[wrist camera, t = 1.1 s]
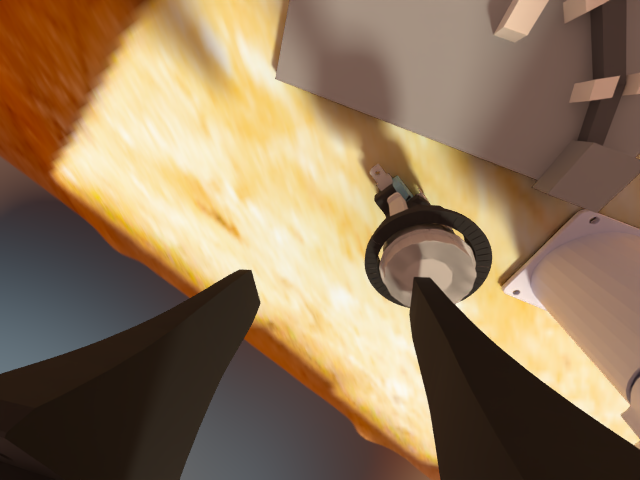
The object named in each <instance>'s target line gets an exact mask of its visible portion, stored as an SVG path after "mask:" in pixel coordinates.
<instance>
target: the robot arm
mask: <svg viewBox="0 0 640 480" xmlns="http://www.w3.org/2000/svg"><path fill="white" fill-rule="evenodd" d="M593 217H595V219H594V220H593V221H591V222H589V221H590V219H592V218H593ZM502 290H503V292H504V293H505V294H507V295H510V296H512V297H515V298H517V299H519V300H522V301H524V302H527V303H529V304H532V305H534V306H536V307H539V308H541V309H544V310H546V311H548V312H549V313H550V314H551V315H552V316H553V318H554V319H555V320H556V321H557V322H558V323H559V324H560V326H561V327H562V328H563V329H564V330H565V331H566V332H567V334H568V335H569V336H570V337H571V338H572V339H573V340H574V342H575V343H576V344H577V345H578V346H579V347H580V348H581V349H582V351H583V352H584V353H585V354H586V355H587V356H588V357H589V359H590V360H591V361H592V362H593V363H594V364H595V365H596V367H597V368H598V369H599V370H600V371H601V372H602V373H603V374H604V376H605V377H606V378H607V379H608V380H609V381H610V382H611V384H612V385H613V386H614V387H615V388H616V389H617V390H618V392H619V393H620V394H621V395H622V396H623V397H624V398H625V400H626V401H627V402H628V403H629V404H630V407H629V408H628V409H627V410H626V411H625V412H623V413H622V414H621V417H622V418H623V419H624V420H625V422H626V423H627V424H628V425H629V426H630V428H631V429H632V430H633V431H634V433H635V434H636V435H637V436H638V437H639V439H640V229H639V228H636V227H634V226H631V225H628V224H626V223H623V222H621V221H618V220H615V219H613V218H610V217H608V216H605V215H603V214H600V213H595V212H592V211H589V210H587V209H583V210H580V211H578V212H577V213H576V214H575V215H574V216H573V217H572V218H571V219H570V220H569V221H568V222H567V223H566V224H565V225H564V226H563V227H562V228H561V229H560V230H559V231H558V232H557V233H555V234H554V235H553V236H552V237H551V238H550V239H549V240H548V241H547V242H546V243H545V244H544V245H543V246H542V247H541V248H540V249H539V250H538V251H537V252H536V253H535V254H534V255H533V256H532V257H531V258H530V259H529V260H528V261H527V262H526V263H525V264H524V265H523V266H522V267H521V268H520V269H519V270H518V271H517V272H516V273H515V274H514V275H513V276H512V277H511V278H510V279H509V280H508V281H507V282H506V283H505V284H504V285H503V286H502ZM515 290H517V291H516V292H513V291H515ZM259 306H260V300H259V296H258V292H257V289H256V285H255V282H254V278H253V274H252V271H251V270H238V271H236V272H234V273H232V274H230V275H228V276H227V277H225V278H223V279H222V280H220V281H218V282H217V283H215V284H213V285H212V286H210V287H208V288H207V289H205V290H203V291H202V292H200V293H198V294H197V295H195V296H193V297H191V298H189V299H188V300H186V301H184V302H183V303H181V304H179V305H177V306H176V307H174V308H172V309H170V310H168V311H166V312H164V313H162V314H160V315H158V316H156V317H154V318H152V319H150V320H148V321H146V322H143V323H141V324H139V325H137V326H135V327H132V328H130V329H128V330H125V331H123V332H120V333H118V334H116V335H113V336H111V337H108V338H106V339H104V340H101V341H98V342H96V343H93V344H90V345H88V346H85V347H82V348H80V349H77V350H74V351H71V352H68V353H65V354H63V355H59V356H57V357H54V358H50V359H47V360H44V361H41V362H38V363H34V364H31V365H28V366H25V367H21V368H18V369H15V370H12V371H9V372H5V373H2V374H0V480H180V477H181V474H182V471H183V469H184V466H185V463H186V460H187V458H188V455H189V453H190V450H191V448H192V445H193V443H194V440H195V437H196V435H197V432H198V430H199V427H200V425H201V423H202V420H203V418H204V416H205V413H206V411H207V409H208V406H209V404H210V402H211V400H212V397H213V395H214V393H215V391H216V389H217V386H218V384H219V382H220V380H221V378H222V376H223V374H224V372H225V370H226V368H227V367H228V365H229V363H230V361H231V360H232V358H233V356H234V355H235V353H236V351H237V349H238V347H239V346H240V344H241V342H242V341H243V339H244V337H245V335H246V334H247V332H248V330H249V328H250V327H251V325H252V323H253V321H254V318H255V316H256V314H257V311H258V308H259ZM409 315H410V323H411V331H412V338H413V343H414V347H415V351H416V355H417V359H418V363H419V367H420V371H421V375H422V379H423V383H424V387H425V391H426V395H427V399H428V404H429V409H430V414H431V420H432V427H433V433H434V439H435V446H436V452H437V459H438V466H439V473H440V480H640V441H639V442H637V443H636V444H635V445H633V444H631V443H629V442H628V441H626V440H625V439H623V438H622V437H620V436H619V435H617V434H616V433H614V432H613V431H611V430H610V429H608V428H607V427H605V426H604V425H602V424H601V423H599V422H598V421H597V420H595V419H594V418H592V417H591V416H589V415H588V414H586V413H585V412H584V411H582V410H581V409H579V408H578V407H576V406H575V405H574V404H572V403H571V402H569V401H568V400H567V399H565V398H564V397H563V396H561V395H560V394H558V393H557V392H556V391H554V390H553V389H552V388H550V387H549V386H548V385H546V384H545V383H543V382H542V381H541V380H539V379H538V378H537V377H536V376H534V375H533V374H532V373H530V372H529V371H528V370H527V369H525V368H524V367H523V366H522V365H520V364H519V363H518V362H517V361H515V360H514V359H513V358H512V357H511V356H509V355H508V354H507V353H506V352H504V351H503V350H502V349H501V348H500V347H499V346H497V345H496V344H495V343H494V342H493V341H492V340H491V339H489V338H488V337H487V336H486V335H485V334H484V333H483V332H482V331H481V330H480V329H479V328H478V327H477V326H476V325H475V324H473V323H472V322H471V321H470V320H469V319H468V318H467V317H466V315H465V314H464V313H463V312H462V311H461V310H460V309H459V308H458V307H457V306H456V305H455V304H454V303H453V302H452V301H451V300H450V299H449V298H448V297H447V295H446V294H445V293H444V292H443V291H442V290H441V289H440V288H439V287H438V285H437V284H436V283H435V282H434V281H433V280H432V279H431V278H430V277H414V279H413V288H412V297H411V305H410V314H409Z"/></svg>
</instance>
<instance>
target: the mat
mask: <svg viewBox="0 0 640 480" xmlns="http://www.w3.org/2000/svg"><path fill="white" fill-rule="evenodd" d="M565 1H566V0H549V1H548V3H547V4H546V6H545V7H544V9H543V11H542V12H541V14H540V16H539V17H538V19H537V20H536V22H535V24H534V25H533V27H532V29H531V30H530V32H529V34H528V35H527V36H525V37H524V38H522V39H520V40H519V41H517V42H515V43H514V42H512V41H509V40H506V39H503V38H500V37H498V36H495V35H494V33H495V31H496V29H497V27H498V26H499V24H500V22H501V20H502V18H503V16H504V15H505V13H506V11H507V9H508V7H509V6H510V4H511V2H512V0H290V1H289V7H288V12H287V18H286V23H285V29H284V34H283V39H282V45H281V50H280V56H279V61H278V67H277V72H276V78H275V79H277V80H280V81H282V82H285V83H287V84H290V85H292V86H295V87H298V88H300V89H303V90H305V91H308V92H311V93H313V94H316V95H318V96H321V97H324V98H326V99H329V100H331V101H334V102H336V103H339V104H342V105H344V106H347V107H349V108H352V109H355V110H357V111H360V112H362V113H365V114H368V115H370V116H373V117H375V118H378V119H380V120H383V121H386V122H388V123H391V124H393V125H396V126H399V127H401V128H404V129H406V130H409V131H412V132H414V133H417V134H419V135H422V136H425V137H427V138H430V139H432V140H435V141H437V142H440V143H443V144H445V145H448V146H450V147H453V148H456V149H458V150H461V151H463V152H466V153H469V154H471V155H474V156H476V157H479V158H481V159H484V160H487V161H489V162H492V163H494V164H497V165H500V166H502V167H505V168H507V169H510V170H513V171H515V172H518V173H520V174H523V175H526V176H528V177H531V178H533V179H536V180H539V178H540V177H541V176H542V175H543V174H544V172H545V171H546V170H547V169H548V168H549V167H550V165H551V164H552V163H553V162H554V161H555V159H556V158H557V157H558V156H559V155H560V154H561V152H562V151H563V150H564V149H565V148H566V146H567V145H568V144H569V143H570V142H571V141H572V140H574V141H577V140H578V137H579V134H580V131H581V128H582V125H583V122H584V119H585V116H586V112H587V109H588V106H589V103H590V101H583V102H573V103H569V101H570V98H571V94H572V91H573V87H574V84H575V83H581V82H586V81H591V80H593V69H592V44H591V19H590V11H589V12H587V13H585V14H583V15H581V16H579V17H577V18H575V19H573V20H571V21H569V22H567V23H565V24H564V11H563V2H565ZM636 73H640V0H627V21H626V75H630V74H636ZM603 146H605V147H607V148H610V149H613V150H615V151H618V152H621V153H623V154H626V155H629V156H631V157H634V158H635V157H636V156H637V155H638V154H639V153H640V94H634V95H625V96H621V99H620V102H619V104H618V107H617V110H616V112H615V115H614V118H613V120H612V123H611V126H610V128H609V131H608V134H607V136H606V139H605V142H604V144H603Z"/></svg>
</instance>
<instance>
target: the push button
mask: <svg viewBox="0 0 640 480" xmlns="http://www.w3.org/2000/svg"><path fill="white" fill-rule="evenodd" d="M377 171H379V172H380V174H375V172H377ZM370 175H371V176H372V177H373V178H374V180H375V181H376V182H377V185H376V186H377V187H378V188H379V193H377V194H376V195H375V199H374V200H375V202H376V204H377V205H378V206H379V208H380V209H381V210H382V211H383V212H384V214H385V216H386V219H385V220H384V221H383V222H382V223H381V225H380V226H379V227H378V228H377V230H376V231H375V232H374V234H373V235H372V237H371V239H370V241H369V243H368V245H367V249H366V254H365V270H366V274H367V276H368V279H369V281H370V283H371V284H372V286H373V287H374V288H375V289H376V290H377V291H378V292H379V293H380V294H381V295H382V296H383V297H385V298H386V299H388V300H390V301H391V302H393V303H396V304H398V305H401V306H404V307H408V308H410V305H411V297H412V288H413V279H414V277H430V278H431V279H432V280H433V281H434V282H435V283H436V284H437V285H438V287H439V288H440V289H441V290H442V291H443V292H444V293H445V294H446V295H447V297H448V298H449V299H450V300H451V301H452V302H453V303H454V304H456V303H458V302H460V301H462V300H464V299H466V298H467V297H469V296H470V295H472V294H473V293H474V292H475V291H476V290H477V289H478V288H479V287H480V286H481V285H482V284H483V282H484V281H485V279H486V278H487V276H488V274H489V271H490V268H491V264H492V251H491V246H490V244H489V241H488V239H487V237H486V235H485V234H484V233H483V231H482V230H481V229H480V228H479V227H478V226H477V225H476V224H475V223H474V222H473V221H471V220H470V219H469V218H467V217H466V216H464V215H462V214H460V213H458V212H455V211H452V210H448V209H444V208H443V207H441V206H435V205H430V203H429V201H428V200H427V198H426V197H425V195H424V194H423V193H422V191H421V190H420V189H419V188H418V189H419V191H420V193H419V194H418V195H417V194H416V195H415V196H413V195H412V193H411V192H410V191H409V189H408V188H407V187H406V185H405V184H404V183H403V181H402V180H401V179H400V177H399V176H398V175H397V176H396V177H394V178H392V177H391V176H390V174H389V173H388V174H386V173H385V171H384V170H383V169H382V167H381V166H380V165H379V164H376V165H375V166H374V167H372V168H371V169H370ZM452 228H453V229H455V230H457V231H459V232H460V233H462V234H463V236H464V240H465V242H464V241H463V240H462V239H461V238H460V237H459V236H457V235H456V234H455V233H454V231H453V230H452ZM383 244H384V245H383ZM382 246H383V255H382V258H381V261H380V259H379V257H378V254H379V252H380V249H381V248H382Z"/></svg>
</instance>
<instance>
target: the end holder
mask: <svg viewBox="0 0 640 480" xmlns="http://www.w3.org/2000/svg"><path fill="white" fill-rule="evenodd" d="M548 1H549V0H512V2H511V4H510V6H509V7H508V9H507V11H506V13H505V15H504V16H503V18H502V20H501V22H500V24H499V26H498V27H497V29H496V31H495V33H494V35H495V36H498V37H500V38H503V39H506V40H509V41H512V42H514V43H515V42H517V41H519V40H520V39H522V38H524V37H525V36H527V35H528V34H529V32H530V30H531V29H532V27H533V25H534V24H535V22H536V20H537V19H538V17H539V16H540V14H541V12H542V11H543V9H544V7H545V6H546V4H547V3H548Z"/></svg>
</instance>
